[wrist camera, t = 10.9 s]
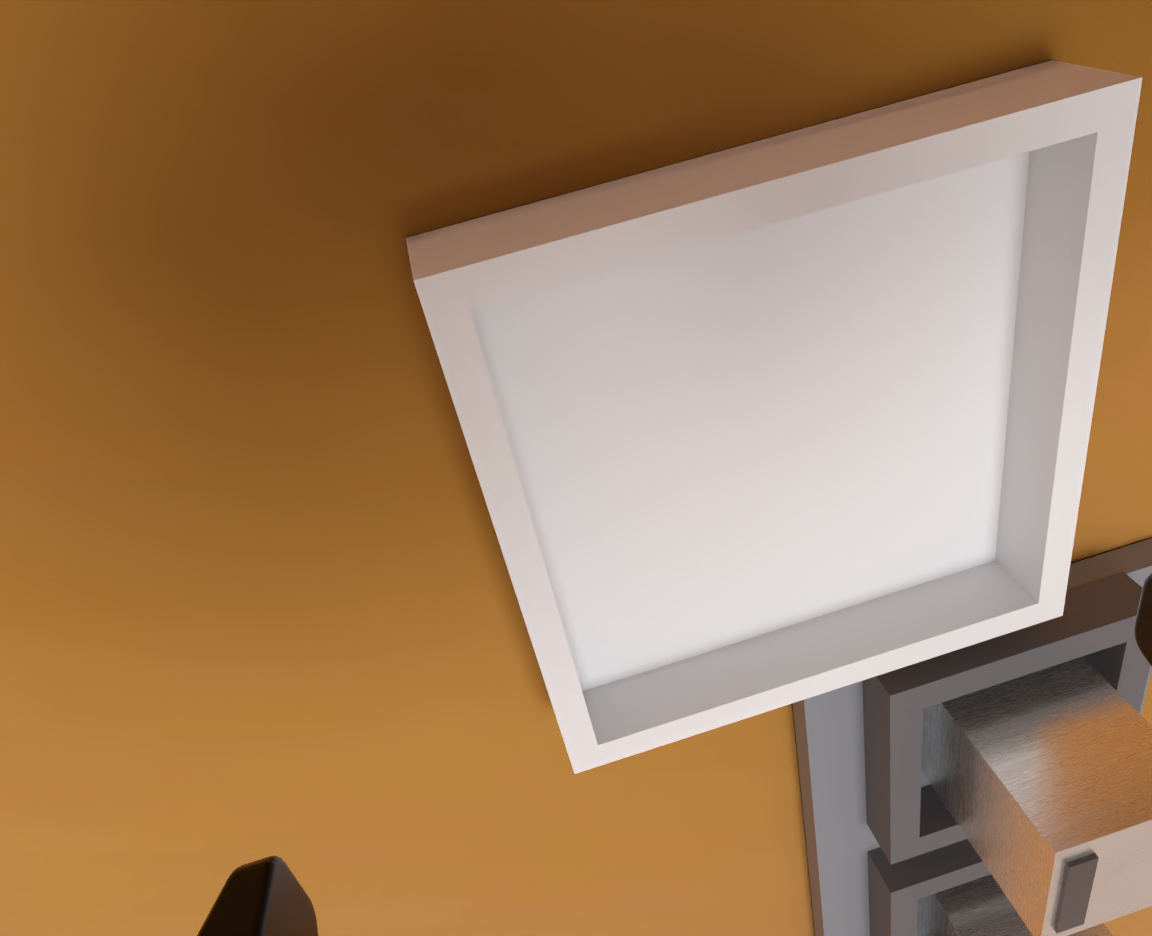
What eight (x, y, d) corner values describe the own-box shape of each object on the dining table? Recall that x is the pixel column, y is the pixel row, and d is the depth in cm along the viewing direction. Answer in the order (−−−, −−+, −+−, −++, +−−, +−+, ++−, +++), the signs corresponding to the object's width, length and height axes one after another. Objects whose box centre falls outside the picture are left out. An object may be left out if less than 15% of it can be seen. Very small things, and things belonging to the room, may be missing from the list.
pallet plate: (1154, 533, 27) (1223, 586, 25) (1083, 866, 37) (1128, 924, 35) (787, 650, 26) (826, 716, 24) (817, 958, 36) (846, 1023, 34)
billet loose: (1059, 634, 27) (1225, 799, 22) (1046, 728, 29) (1192, 897, 24) (923, 678, 27) (1059, 858, 22) (921, 770, 29) (1042, 950, 24)
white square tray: (1053, 59, 18) (1142, 76, 16) (1006, 560, 26) (1062, 615, 24) (406, 238, 17) (413, 280, 15) (555, 703, 25) (574, 773, 23)
